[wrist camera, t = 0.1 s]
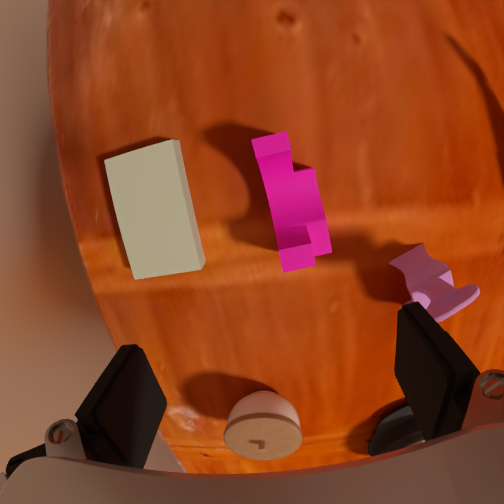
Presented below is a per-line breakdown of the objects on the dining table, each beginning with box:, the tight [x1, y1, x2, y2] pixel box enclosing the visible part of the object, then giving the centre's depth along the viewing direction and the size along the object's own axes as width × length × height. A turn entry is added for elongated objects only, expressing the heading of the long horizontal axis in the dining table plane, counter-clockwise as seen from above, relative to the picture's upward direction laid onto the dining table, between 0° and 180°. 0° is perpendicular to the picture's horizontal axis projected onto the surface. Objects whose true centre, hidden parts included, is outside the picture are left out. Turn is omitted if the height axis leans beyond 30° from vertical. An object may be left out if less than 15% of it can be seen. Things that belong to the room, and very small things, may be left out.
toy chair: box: [389, 243, 480, 322], centre depth 34 cm, size 8×9×15 cm
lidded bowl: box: [224, 390, 302, 460], centre depth 45 cm, size 13×13×11 cm
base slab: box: [104, 139, 206, 279], centre depth 39 cm, size 17×10×4 cm, turn 10°
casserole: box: [368, 405, 425, 456], centre depth 49 cm, size 25×19×8 cm
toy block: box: [251, 131, 332, 273], centre depth 35 cm, size 15×6×8 cm, turn 14°
